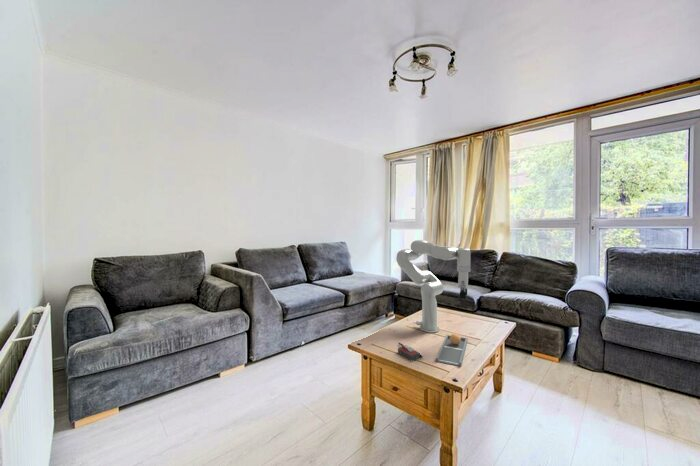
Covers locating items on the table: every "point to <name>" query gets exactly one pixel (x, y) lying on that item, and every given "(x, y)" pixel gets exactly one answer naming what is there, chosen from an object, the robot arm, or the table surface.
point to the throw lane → (452, 352)
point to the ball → (455, 339)
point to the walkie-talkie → (409, 352)
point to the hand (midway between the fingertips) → (463, 296)
